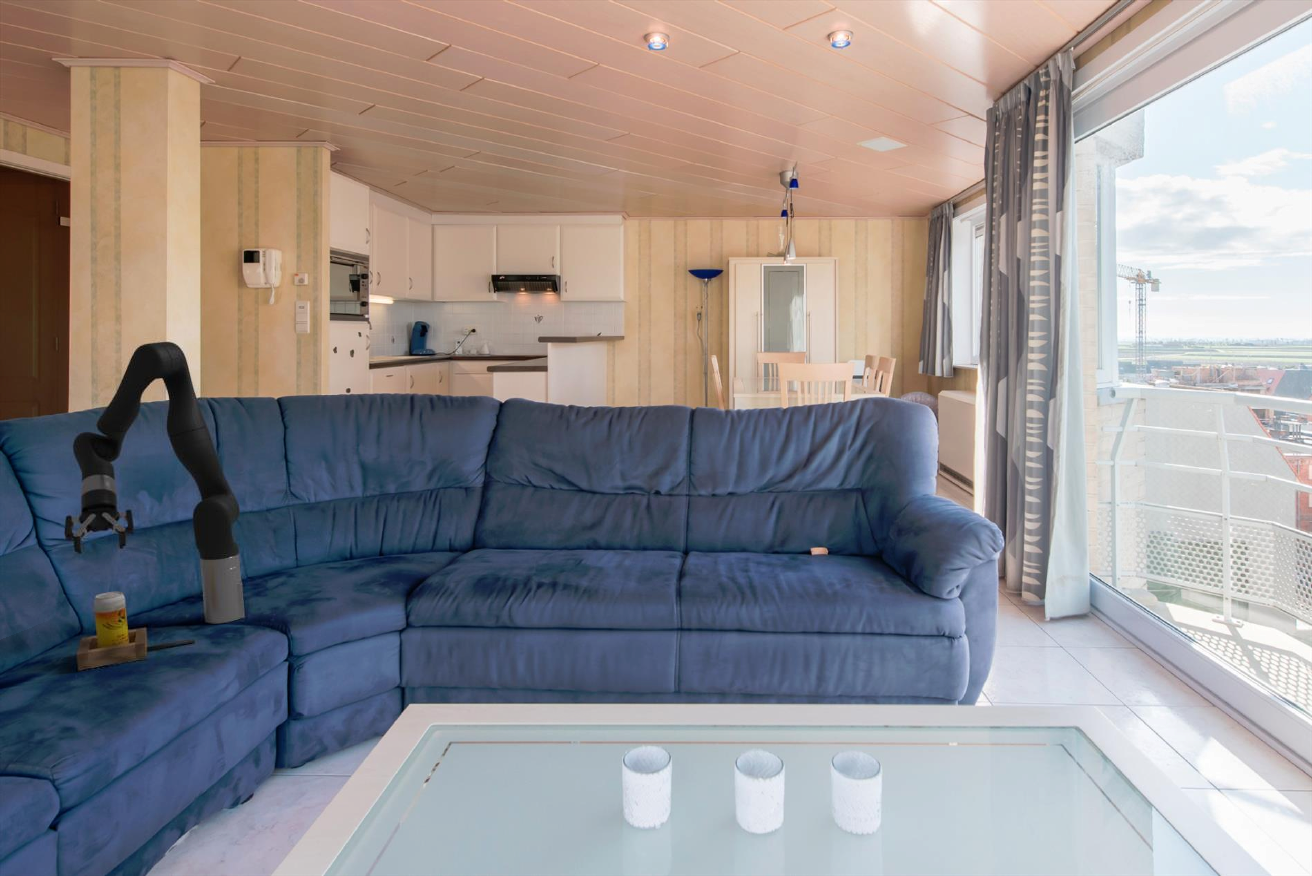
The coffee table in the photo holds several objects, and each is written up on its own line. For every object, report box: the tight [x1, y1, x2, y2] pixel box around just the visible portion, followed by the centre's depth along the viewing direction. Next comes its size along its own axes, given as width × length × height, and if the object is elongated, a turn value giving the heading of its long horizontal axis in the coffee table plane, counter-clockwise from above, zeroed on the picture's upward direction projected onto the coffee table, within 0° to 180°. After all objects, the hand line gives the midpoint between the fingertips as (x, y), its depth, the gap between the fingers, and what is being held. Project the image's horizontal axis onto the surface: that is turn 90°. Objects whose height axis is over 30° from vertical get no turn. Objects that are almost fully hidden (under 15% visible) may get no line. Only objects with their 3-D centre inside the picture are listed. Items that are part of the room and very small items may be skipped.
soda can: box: [93, 591, 129, 648], centre depth 192 cm, size 6×6×15 cm
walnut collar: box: [76, 627, 196, 671], centre depth 195 cm, size 23×13×4 cm, turn 121°
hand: (100, 549), depth 200 cm, fingers open, 8 cm apart
